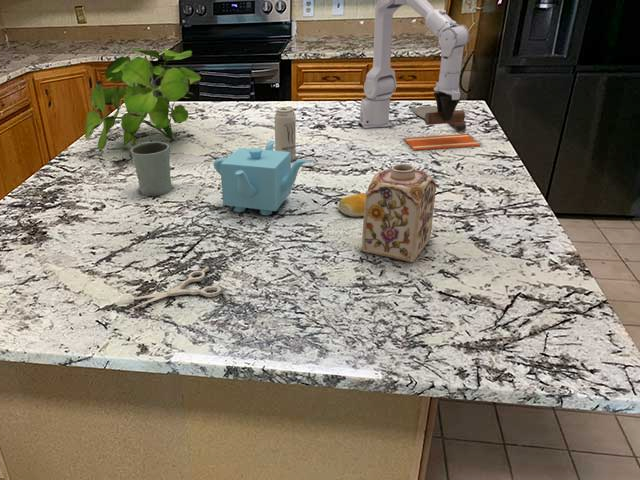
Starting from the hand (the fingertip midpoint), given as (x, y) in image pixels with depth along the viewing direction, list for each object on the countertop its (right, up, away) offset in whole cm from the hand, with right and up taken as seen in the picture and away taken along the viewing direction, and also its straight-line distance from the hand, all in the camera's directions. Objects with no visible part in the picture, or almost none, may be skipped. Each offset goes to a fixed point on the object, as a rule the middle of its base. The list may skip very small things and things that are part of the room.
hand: (444, 118), depth 184 cm
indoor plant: (-92, -3, +19) cm, 94 cm away
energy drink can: (-48, -13, -1) cm, 50 cm away
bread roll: (-33, -33, -35) cm, 59 cm away
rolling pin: (0, 0, 0) cm, 0 cm away
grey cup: (-85, -25, -16) cm, 90 cm away
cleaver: (+7, +7, +24) cm, 26 cm away
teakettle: (-56, -31, -29) cm, 71 cm away
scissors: (-75, -54, -64) cm, 112 cm away
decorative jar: (-28, -44, -52) cm, 73 cm away
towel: (0, -6, +4) cm, 8 cm away
